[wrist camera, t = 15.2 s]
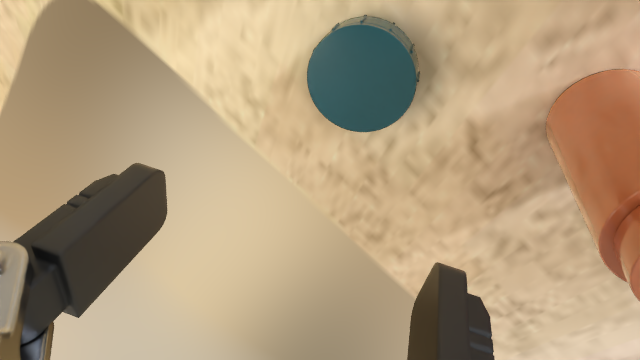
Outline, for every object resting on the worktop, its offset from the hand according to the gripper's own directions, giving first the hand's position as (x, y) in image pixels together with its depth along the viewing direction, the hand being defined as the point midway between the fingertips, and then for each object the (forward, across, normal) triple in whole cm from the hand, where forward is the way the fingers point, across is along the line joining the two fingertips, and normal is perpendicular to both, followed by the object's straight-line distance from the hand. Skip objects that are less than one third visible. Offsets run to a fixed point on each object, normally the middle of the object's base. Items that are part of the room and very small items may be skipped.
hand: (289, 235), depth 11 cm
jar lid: (+12, 0, 0) cm, 12 cm away
